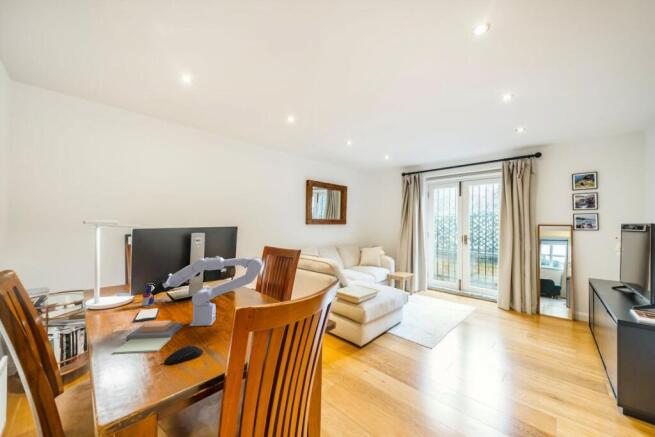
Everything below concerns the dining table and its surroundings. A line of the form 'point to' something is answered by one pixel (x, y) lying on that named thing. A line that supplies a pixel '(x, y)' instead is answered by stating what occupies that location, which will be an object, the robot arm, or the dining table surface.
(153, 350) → the mat
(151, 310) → the smartphone
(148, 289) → the energy drink
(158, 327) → the tile
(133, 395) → the dining table surface
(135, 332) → the riser
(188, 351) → the gaming mouse
